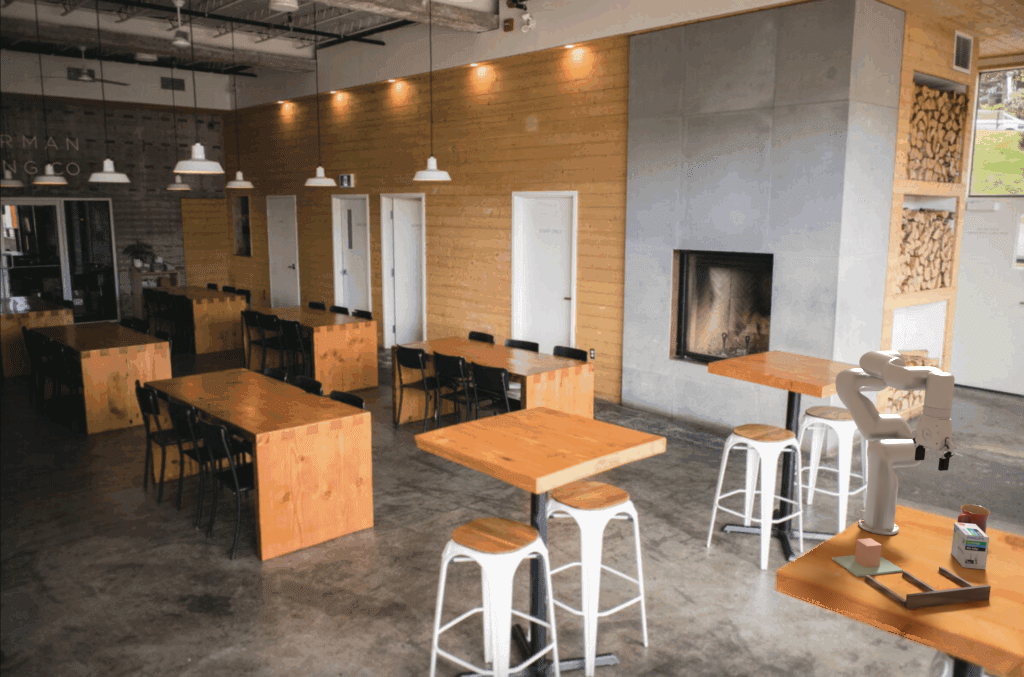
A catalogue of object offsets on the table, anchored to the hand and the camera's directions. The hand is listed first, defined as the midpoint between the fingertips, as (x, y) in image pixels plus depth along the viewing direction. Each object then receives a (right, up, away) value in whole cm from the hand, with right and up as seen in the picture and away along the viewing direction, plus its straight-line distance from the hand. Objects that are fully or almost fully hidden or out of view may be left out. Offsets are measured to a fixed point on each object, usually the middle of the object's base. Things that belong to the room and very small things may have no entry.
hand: (931, 465), depth 236 cm
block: (-21, -30, -2) cm, 37 cm away
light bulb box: (+13, -31, +2) cm, 33 cm away
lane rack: (-11, -33, -16) cm, 38 cm away
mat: (-21, -31, -2) cm, 37 cm away
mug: (+23, -28, +19) cm, 41 cm away
